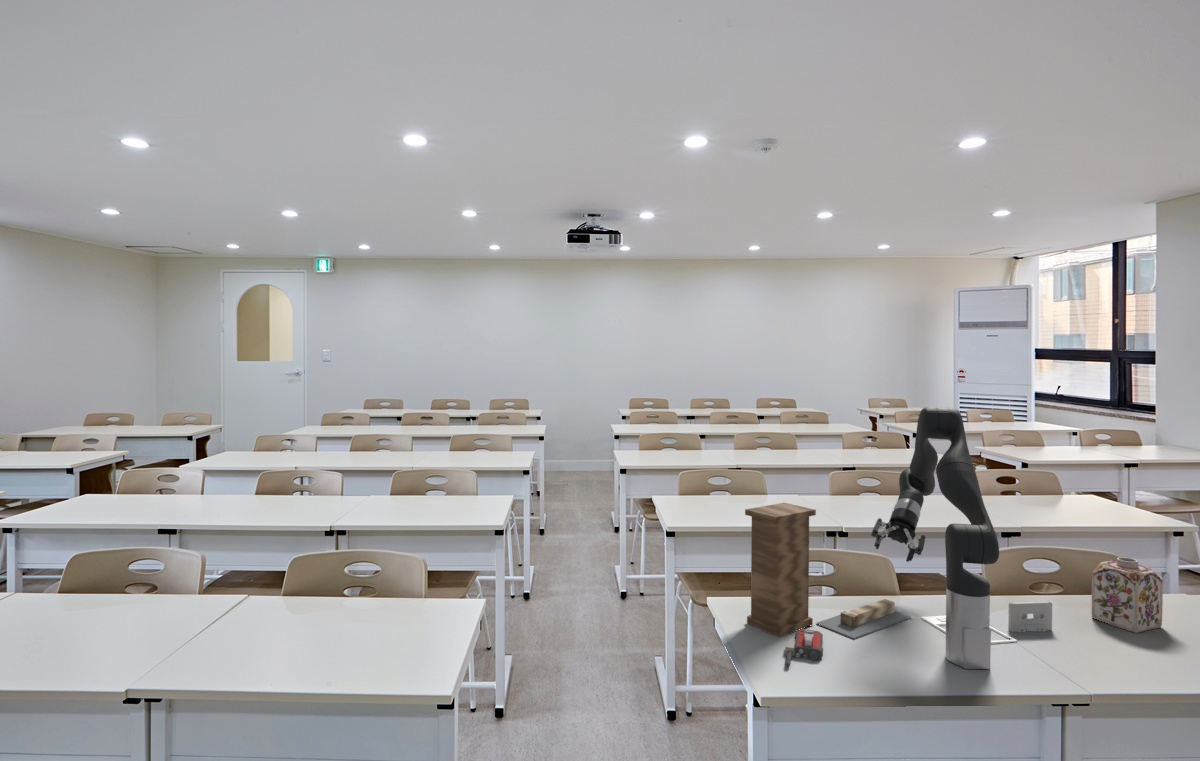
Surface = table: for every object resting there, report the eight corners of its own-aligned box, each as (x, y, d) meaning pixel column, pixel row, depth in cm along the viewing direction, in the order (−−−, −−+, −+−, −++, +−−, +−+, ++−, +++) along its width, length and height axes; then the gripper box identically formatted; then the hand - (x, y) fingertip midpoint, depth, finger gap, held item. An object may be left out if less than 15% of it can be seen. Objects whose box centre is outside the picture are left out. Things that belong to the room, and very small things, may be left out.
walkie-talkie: (788, 637, 171) (782, 670, 153) (788, 620, 171) (783, 651, 153) (823, 641, 168) (822, 676, 150) (823, 625, 168) (822, 657, 150)
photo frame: (967, 613, 185) (1017, 639, 167) (967, 617, 185) (1017, 643, 167) (921, 616, 183) (966, 643, 165) (921, 620, 183) (966, 647, 165)
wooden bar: (853, 628, 175) (853, 617, 175) (840, 623, 179) (840, 612, 178) (896, 612, 186) (896, 602, 186) (883, 608, 190) (883, 598, 189)
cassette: (1048, 628, 176) (1048, 600, 176) (1053, 631, 174) (1054, 603, 174) (1006, 630, 175) (1007, 602, 175) (1011, 632, 174) (1012, 604, 173)
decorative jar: (1163, 628, 177) (1165, 562, 176) (1137, 634, 172) (1138, 567, 172) (1115, 612, 188) (1116, 551, 187) (1089, 618, 183) (1090, 555, 183)
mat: (853, 639, 169) (854, 638, 169) (816, 624, 179) (816, 622, 179) (910, 618, 183) (910, 616, 183) (872, 605, 193) (872, 603, 193)
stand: (775, 637, 170) (776, 517, 169) (744, 624, 179) (745, 509, 178) (814, 624, 179) (815, 509, 178) (783, 612, 188) (784, 502, 187)
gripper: (884, 499, 200) (870, 535, 190) (933, 517, 194) (921, 556, 183) (878, 515, 205) (864, 551, 194) (926, 533, 199) (914, 572, 188)
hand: (892, 553), depth 189 cm, fingers open, 8 cm apart
